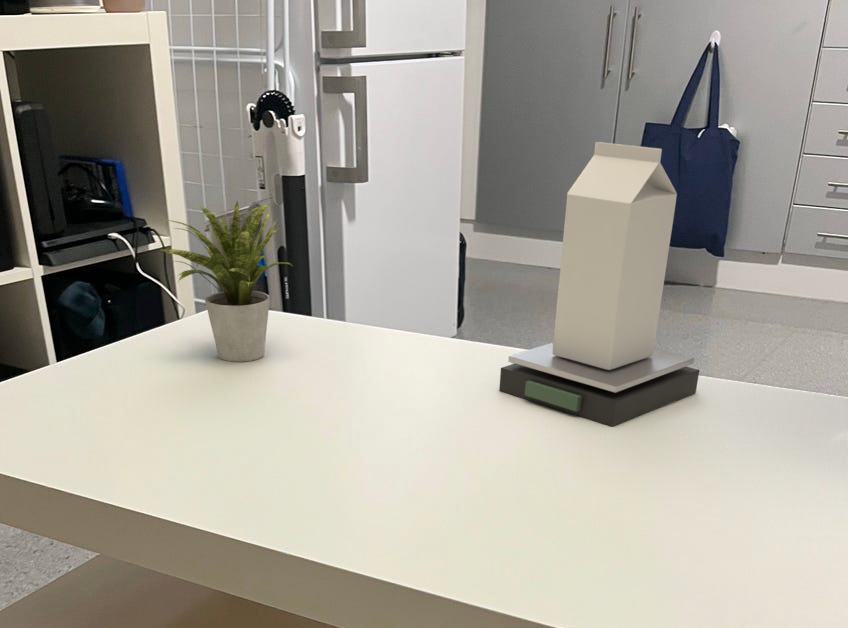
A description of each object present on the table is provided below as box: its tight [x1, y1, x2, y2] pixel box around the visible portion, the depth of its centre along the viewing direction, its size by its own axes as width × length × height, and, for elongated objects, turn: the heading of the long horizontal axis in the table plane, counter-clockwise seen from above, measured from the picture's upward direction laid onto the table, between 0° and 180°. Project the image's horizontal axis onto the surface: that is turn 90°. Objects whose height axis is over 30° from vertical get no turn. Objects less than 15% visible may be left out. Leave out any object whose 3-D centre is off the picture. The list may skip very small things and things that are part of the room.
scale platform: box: [507, 342, 695, 393], centre depth 101 cm, size 13×13×1 cm
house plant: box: [159, 200, 294, 363], centre depth 111 cm, size 14×14×16 cm
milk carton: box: [552, 141, 678, 370], centre depth 96 cm, size 7×7×19 cm
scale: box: [498, 363, 700, 427], centre depth 102 cm, size 15×14×2 cm
